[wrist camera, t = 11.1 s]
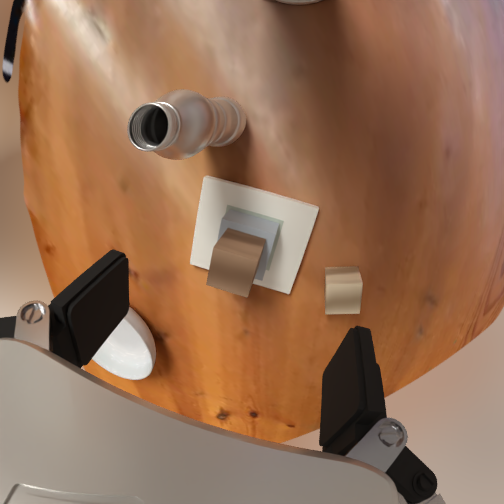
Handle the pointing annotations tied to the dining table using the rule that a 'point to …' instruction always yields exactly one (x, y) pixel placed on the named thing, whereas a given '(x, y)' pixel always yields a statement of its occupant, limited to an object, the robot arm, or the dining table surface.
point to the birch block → (343, 290)
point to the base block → (252, 233)
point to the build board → (263, 206)
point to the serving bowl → (128, 349)
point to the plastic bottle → (185, 124)
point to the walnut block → (235, 262)
